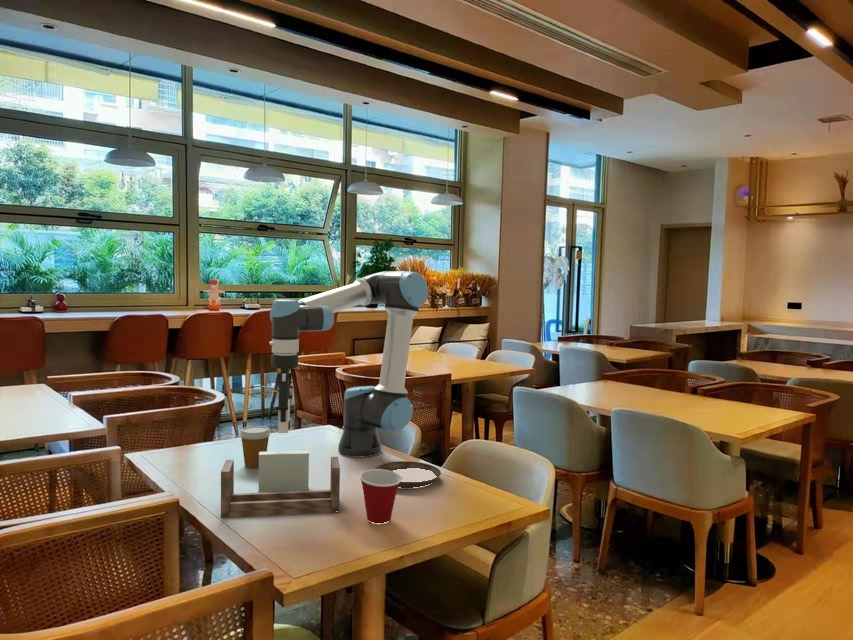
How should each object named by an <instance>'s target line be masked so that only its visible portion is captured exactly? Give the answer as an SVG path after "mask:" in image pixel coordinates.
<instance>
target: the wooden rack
mask: <svg viewBox="0 0 853 640" xmlns="http://www.w3.org/2000/svg"><path fill="white" fill-rule="evenodd" d="M234 461H235V460H234V459H226V460H225V462H224V463H223V466H222V469H221V471H220V518H239V517H240V518H241V517H242V518H243V517H245V518H246V517H263V516H265V517H266V515H268V516H284V515H285V516H286V515H287V516H288V515H308V514H309V515H310V513H311V514H324V513H323V512H333V513H337V512H336V511H339V512H340V490H341V489H340V488H341V487H340V484H341V483H340V481H341V478H340V477H341V466H340V460H339V456H330V488H329V489H324V490H323V489H319V490H316V489H315V490H304V491H279V492H247V493H245V492H244V493H241V492H240V493H239V492H238V493H235V491H234V490H235V489H234V487H235V485H234V484H235V481H234V480H235V479H234V478H235V477H234V476H235V470H234V467H235V462H234Z"/></svg>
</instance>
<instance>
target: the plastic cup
mask: <svg viewBox="0 0 853 640" xmlns="http://www.w3.org/2000/svg"><path fill="white" fill-rule="evenodd" d="M359 479H360V481H361V486H362V491H363V498H364V506H365V511H366V519H367V521H368V520H369V521H371V522H374V523H384V522H387V521H389V520H390V521H391V520H392V514H393V510H394V505H395V501H396V495H397V491H398V486H399V483H400V482H401V480H402V477H401V476H400V475H399V474H397V473H395V472H393V471H389V470H382V469H375V468H374V469H367V470H364V471H362V472H361V473H360V475H359Z"/></svg>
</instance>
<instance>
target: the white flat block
mask: <svg viewBox="0 0 853 640" xmlns="http://www.w3.org/2000/svg"><path fill="white" fill-rule="evenodd" d="M309 470H310V450H309V449H308V450H306V449H305V450H280V451H279V450H278V451H277V450H271V451H268V450H267V452H260V453H259V468H258V493H265V492H273V491H279V492H290V491H309V473H310V472H309Z"/></svg>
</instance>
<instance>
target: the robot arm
mask: <svg viewBox="0 0 853 640" xmlns="http://www.w3.org/2000/svg"><path fill="white" fill-rule="evenodd" d="M428 296H429V287H428V284H427V281H426V280H425V278H424V276H423V275H421V274H420V273H418V272H416V271H409V270H405V271H403V270H401V271H399V270H398V271H395V270H384V271H383V270H382V271H379V272H375V273H371V274H369V275H365V276H363V277H359V278H357V279H355V280H354V281H353V283H350V284H347V285H343V286H340V287H337V288H334V289H331V290H327V291H325V292H324V291H323V292H321V293H318V294H314V295H311V296H308V297H305V298H301V299H298V300H297V299H283V298H281V299H279V298H278V299H275V300H273V302H272V307H271V309H270V310H269V318H270V322H271V341H269V345H270V346H271V353H273V354H271V360H270V361H271V362H270V363H271V366H270V367H272V368H274V369H280V372H278V373H277V389H278V405H277V406H275V411H278V412H277V434H288V433H289V422H290V420H291V419H290V417H291V416H290V415H291V400H292V399H293V395H292V394H291V384H292V380H293V373H292V372H291V371H290V370H291V369H296V368H298V366H299V355H298V353H299V351H300V349H299V348H300V347H299V345H300V338H299V336H300V333H303V332H304V333H305V332H322V331H329V330H330V329H331V328H332V327H333V325H334V323H335V313H338V312H341V311H344V310H347V309H349V308H353V307H356V306H359V305H360V306H368V305H372V304H373V305H376V304H381V305H382V304H383V305H384V310H385V311H386V312H387V320H386V321H387V322H386V323H387V324H386V329H385V331H386V332H385V337H384V343H383V344H384V345H383V352H382V360H381V368H380V376H379V382H378V384H376V385H375V386H374V385H366V386H365V385H364V386H362V385H361V386H354V387H349V388H346V389H345V391H344V397H343V432H342V435H341V437H340V440H339V443H338V448H337V449H338V453H339V452H340V453H341V454H340V453H339V454H340V455H343V456H346V455H348V456H347V457H351V456H368V457H371V456H370V455H373V456H375V455H374V454H377V453H379V452H380V451H381V452H382V443H381V440H380V437H379V433H378V429H382V430H384V431H388V432H389V431H390V432H400V431H402V430H404V429H405V428H406V426H408V424H409V423H410V421H411V419H412V417H413V411H414V408H413V404H412V402H411V400H410V399H409V398H408V395H409V392H408V390H407V389H406V387H405V384H406V383H405V382H406V376H407V375H406V374H407V367H408V360H409V353H410V344H411V337H412V330H413V322H414V317H415V316H417V315H418V314H419V312H420V311H419V310H420V307H422V306H424V304H425V302H426V301H427V300H428ZM377 428H378V429H377ZM381 452H380V453H381ZM380 453H379V454H380ZM377 455H378V454H377Z"/></svg>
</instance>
